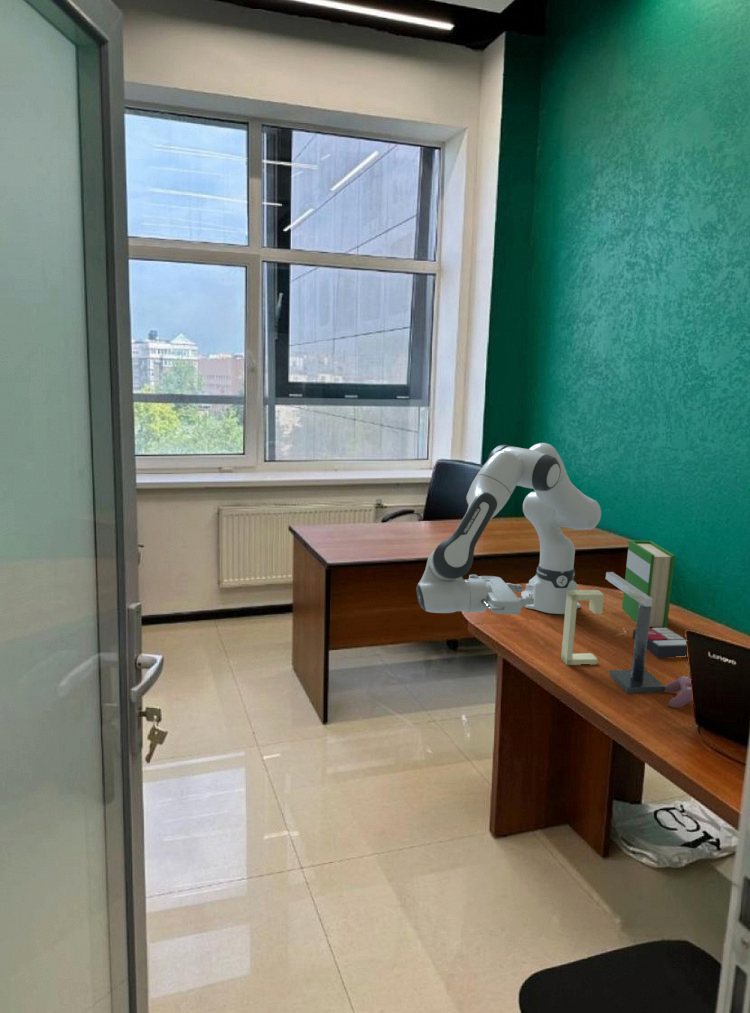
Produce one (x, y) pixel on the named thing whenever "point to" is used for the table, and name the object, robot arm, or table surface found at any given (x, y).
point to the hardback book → (649, 579)
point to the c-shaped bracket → (569, 624)
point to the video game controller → (680, 692)
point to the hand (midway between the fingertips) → (527, 594)
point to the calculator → (665, 643)
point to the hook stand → (636, 644)
